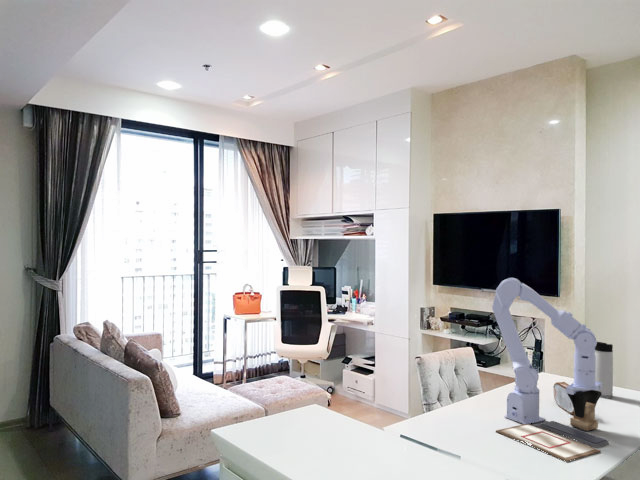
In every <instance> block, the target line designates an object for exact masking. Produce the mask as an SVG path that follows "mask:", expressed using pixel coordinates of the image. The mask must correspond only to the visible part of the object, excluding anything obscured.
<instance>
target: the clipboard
mask: <svg viewBox="0 0 640 480" xmlns="http://www.w3.org/2000/svg"><path fill="white" fill-rule="evenodd" d="M495 433H497V434H500V435H502V436H503V437H507V438H508V439H512V440H513V439H515V440H514V441H516V440H519V441H523V442H524V443H526V442H528V443H531V444H532V445H531V446H533V447H535V448H538V449H540V450H542V451H544V452H546V453H548V454H547V455H549V454H551V455H552V456H551V455H550V456H551V457H553V456H554V458H555V459H558V458H559V460H560V459H561V461H563V460H565V461H569V462H571V461H570V460H573V461H575V460H574V459H576V460H579V459H582V458H585V457H589V456H592V455H595V454H599V453H601V452H602V451H601V450H600V449H597V448H595V447H592V446H589V445H587V444H584V443H581V442H579V441H576V440H573V439H571V438H568V437H565V436H563V435H560V434H557V433H555V432H552V431H549V430H547V429H544V428H541V427H539V426H536V425H533V424H519V425H516V426H510V427H505V428H502V429H496V430H495ZM525 441H526V442H525ZM526 444H527V443H526ZM535 448H534V449H535ZM542 451H541V452H542ZM544 452H543V453H544ZM546 453H545V454H546ZM578 458H579V459H578ZM565 461H564V462H565Z"/></svg>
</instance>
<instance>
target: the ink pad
mask: <svg viewBox="0 0 640 480" xmlns="http://www.w3.org/2000/svg"><path fill="white" fill-rule="evenodd" d="M539 426H540V427H539V428H541V427H542V429H544V428H545V430H547V431H549V430H550V432H553V433H555V434H557V433H558V435H560V434H561V436H563V435H564V436H563V437H565V436H567V437H566V438H568V437H569V439H571V438H572V439H571V440H573V439H575V440H574V441H576V440H577V442H579V443H581V442H582V444H585V445H587V446H590V447H593V448H595V449H597V448H599V447H604V446H606V445H607V446H608V445H609V444H610V441H609V440H607V439H606V438H604V437H603V438H602V437H601V436H597V435H594V434H592V433H588V432H587V431H584V430H581V429H579V428H576V427H573V426H569V425H566V424H563V423H561V422H558V421H554V420H550V421H545V422H542V423H539Z"/></svg>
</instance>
